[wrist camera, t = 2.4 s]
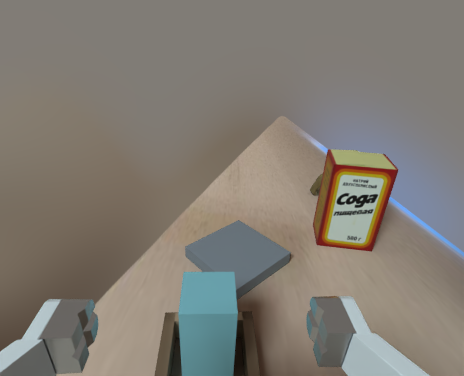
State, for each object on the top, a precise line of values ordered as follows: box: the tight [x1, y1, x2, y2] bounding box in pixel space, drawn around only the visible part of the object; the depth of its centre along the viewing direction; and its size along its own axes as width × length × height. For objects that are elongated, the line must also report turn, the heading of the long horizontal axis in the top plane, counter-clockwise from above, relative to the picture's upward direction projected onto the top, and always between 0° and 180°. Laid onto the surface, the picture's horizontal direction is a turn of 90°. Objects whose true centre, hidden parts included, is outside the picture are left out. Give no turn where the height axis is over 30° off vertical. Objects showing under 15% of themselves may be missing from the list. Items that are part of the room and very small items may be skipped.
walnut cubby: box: [155, 311, 260, 376], centre depth 33 cm, size 10×9×3 cm
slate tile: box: [185, 220, 291, 299], centre depth 49 cm, size 12×12×2 cm
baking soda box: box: [313, 150, 398, 251], centre depth 52 cm, size 10×6×16 cm
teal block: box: [178, 272, 238, 376], centre depth 31 cm, size 5×5×12 cm
